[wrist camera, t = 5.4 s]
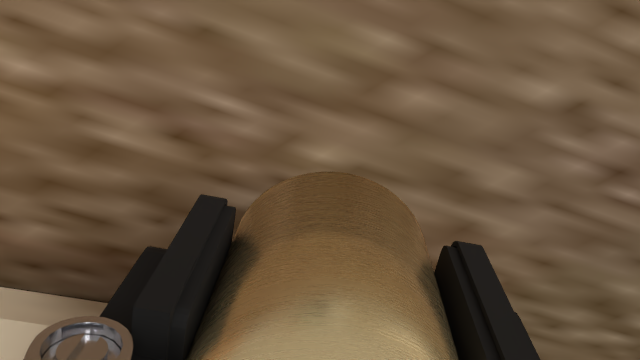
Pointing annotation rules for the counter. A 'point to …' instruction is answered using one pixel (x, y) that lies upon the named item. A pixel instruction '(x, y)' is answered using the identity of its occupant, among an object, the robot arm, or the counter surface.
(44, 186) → the counter surface
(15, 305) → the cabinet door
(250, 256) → the hinge barrel
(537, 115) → the counter surface
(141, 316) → the robot arm
